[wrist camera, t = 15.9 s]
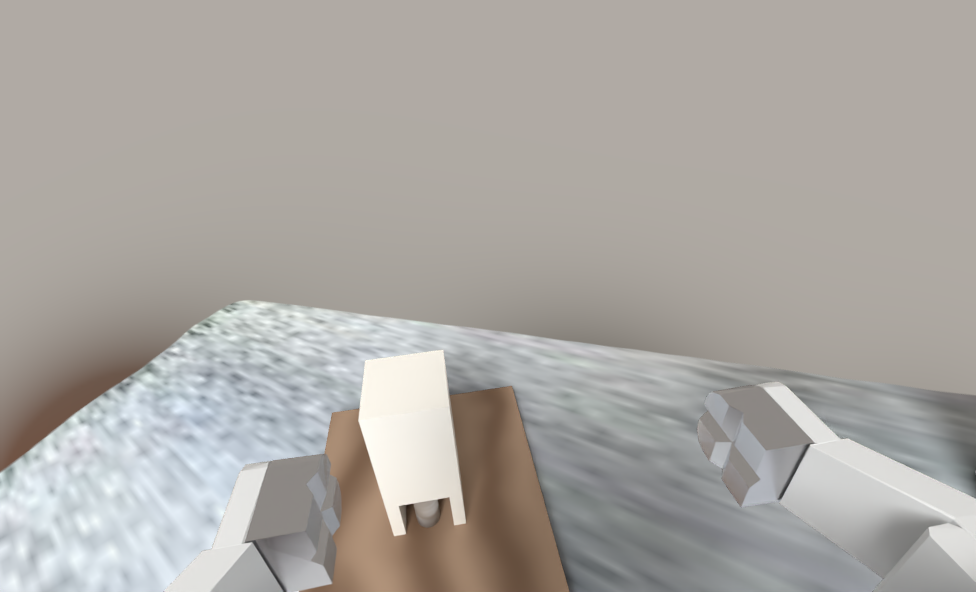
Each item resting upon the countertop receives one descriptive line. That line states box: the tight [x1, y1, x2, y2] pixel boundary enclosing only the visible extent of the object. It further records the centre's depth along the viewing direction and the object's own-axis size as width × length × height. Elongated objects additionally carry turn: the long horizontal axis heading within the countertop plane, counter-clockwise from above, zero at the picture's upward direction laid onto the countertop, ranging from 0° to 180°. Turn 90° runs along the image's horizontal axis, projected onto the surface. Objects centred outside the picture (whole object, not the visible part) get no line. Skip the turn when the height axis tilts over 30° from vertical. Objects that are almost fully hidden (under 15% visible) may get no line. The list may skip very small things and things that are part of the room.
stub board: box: [299, 386, 569, 592], centre depth 39 cm, size 20×24×4 cm
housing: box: [358, 350, 466, 536], centre depth 36 cm, size 6×6×14 cm
